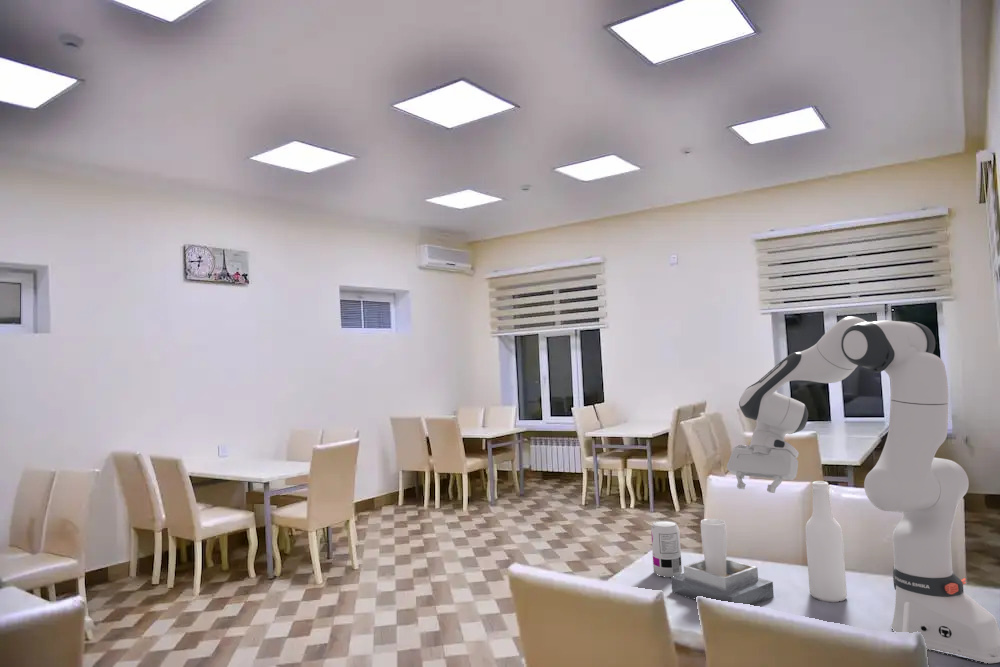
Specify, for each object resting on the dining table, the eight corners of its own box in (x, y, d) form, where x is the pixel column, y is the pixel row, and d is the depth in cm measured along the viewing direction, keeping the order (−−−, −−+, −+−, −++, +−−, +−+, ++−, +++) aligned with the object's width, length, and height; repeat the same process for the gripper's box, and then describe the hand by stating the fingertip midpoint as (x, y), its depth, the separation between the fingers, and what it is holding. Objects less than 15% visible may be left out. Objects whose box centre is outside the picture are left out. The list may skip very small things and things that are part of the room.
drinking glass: (732, 580, 173) (728, 524, 174) (706, 580, 174) (703, 525, 175) (726, 572, 180) (722, 518, 181) (701, 572, 181) (698, 518, 181)
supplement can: (648, 575, 194) (645, 524, 194) (662, 567, 200) (659, 518, 200) (673, 580, 188) (670, 528, 189) (686, 572, 194) (683, 522, 195)
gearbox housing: (773, 596, 172) (771, 568, 172) (733, 613, 162) (731, 583, 162) (711, 578, 188) (710, 552, 189) (672, 592, 179) (670, 564, 179)
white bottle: (830, 605, 164) (821, 486, 165) (802, 594, 172) (794, 481, 174) (855, 598, 167) (846, 482, 169) (826, 588, 176) (818, 477, 177)
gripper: (729, 439, 196) (717, 481, 191) (793, 443, 180) (783, 489, 175) (740, 449, 199) (728, 490, 194) (804, 453, 183) (794, 498, 178)
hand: (755, 490), depth 184 cm, fingers open, 8 cm apart
